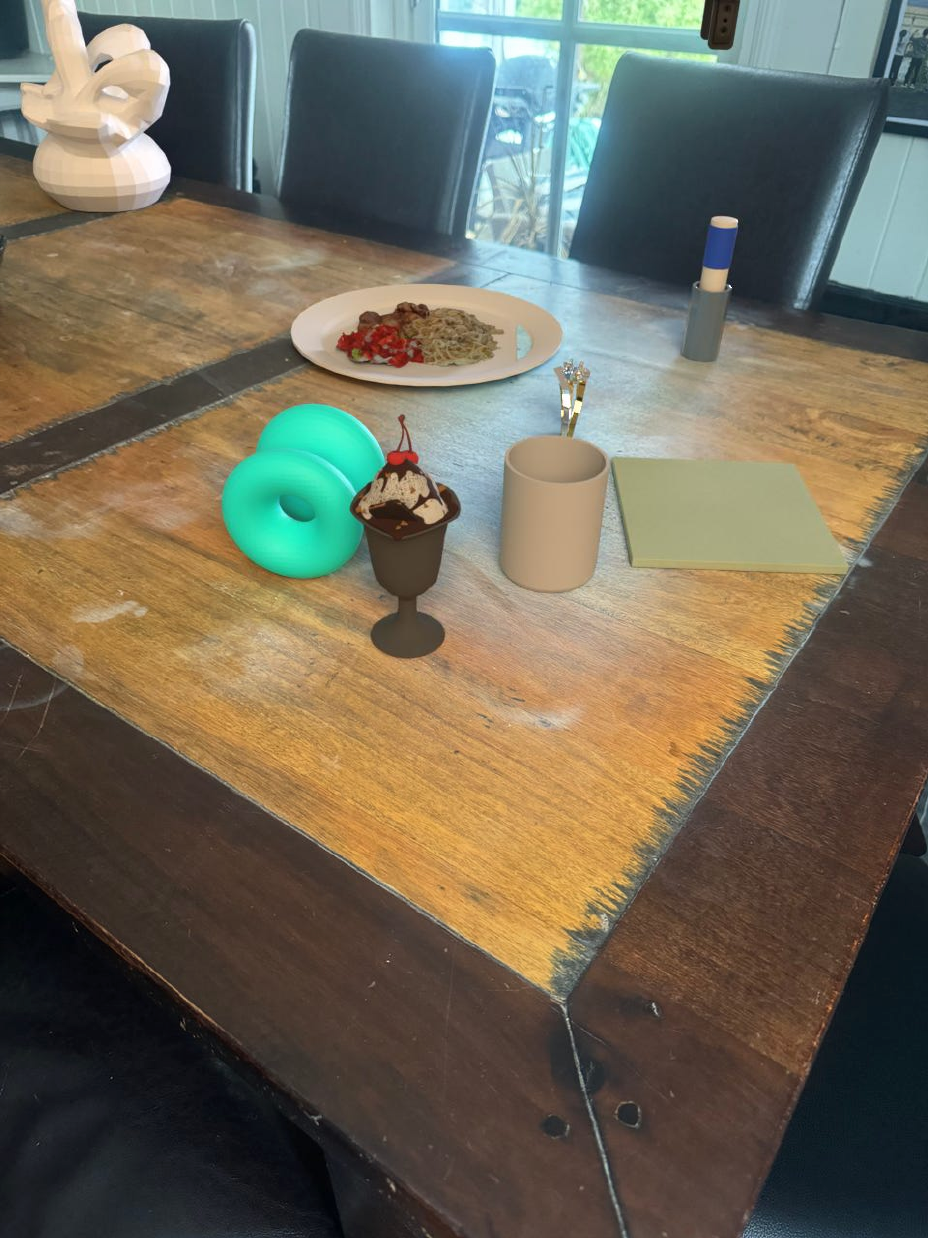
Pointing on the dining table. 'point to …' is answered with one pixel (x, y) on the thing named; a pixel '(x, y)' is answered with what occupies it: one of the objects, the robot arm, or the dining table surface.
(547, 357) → the plated food
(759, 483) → the mat
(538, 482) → the cup
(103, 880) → the dining table surface
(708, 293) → the grey hollow cylinder
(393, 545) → the sundae
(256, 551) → the donuts
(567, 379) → the ring
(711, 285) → the marker
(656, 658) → the dining table surface
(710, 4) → the robot arm
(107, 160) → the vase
